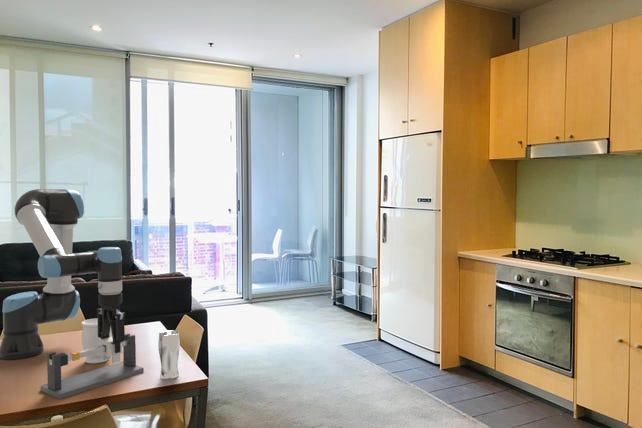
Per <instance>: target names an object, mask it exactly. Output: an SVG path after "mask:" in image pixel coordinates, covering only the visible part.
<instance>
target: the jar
mask: <svg viewBox="0 0 642 428" xmlns="http://www.w3.org/2000/svg"><path fill="white" fill-rule="evenodd" d="M81 326H82V327H83V328H82V332H81V343H82V344H81V345H82V347H83V348H82V349H83V351H84V350H88V349H92V348H95V347H99V346H100V340H101V338H100V337H98V317H97V318H96V317H95V318H89V319H88V318H87V319H85V320H83V321H81ZM109 336H110V337H112V332H111V327H110V334H109ZM110 359H111V358H109V359H106V360H102V355H101V354H100V353H97V354H93V355H89V356H85V363H87V364H92V365H93V364H103V363H105V362H107V361H109V360H110Z"/></svg>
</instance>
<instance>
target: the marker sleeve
mask: <svg viewBox="0 0 642 428" xmlns="http://www.w3.org/2000/svg"><path fill="white" fill-rule="evenodd" d="M111 343H113V338H112V337H109V338H105V339H101V340H100V346H103V345H106V351H104V352H100V354H101V355H104V356H107V357H110V356H111V357H112V344H111ZM120 346H121V351H120V355H122V354H123V347H122V342H121V344H120Z"/></svg>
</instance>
